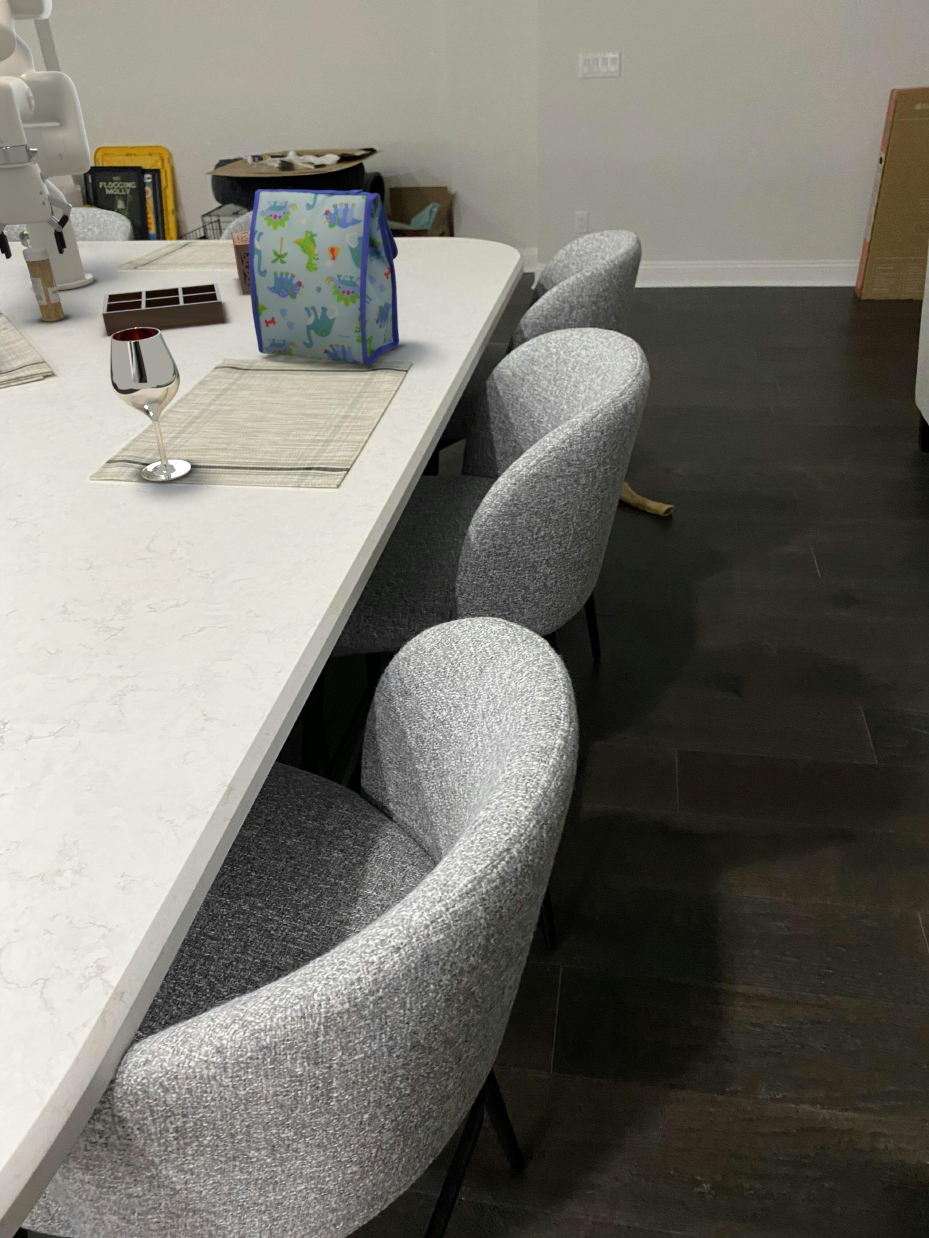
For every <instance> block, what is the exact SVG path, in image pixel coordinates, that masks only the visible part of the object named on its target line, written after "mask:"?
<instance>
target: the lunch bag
mask: <svg viewBox="0 0 929 1238" xmlns="http://www.w3.org/2000/svg"><path fill="white" fill-rule="evenodd" d="M252 207H253V208H252V214H251V221H250V228H249V230H250V239H249V274H250V287H251V294H250V301H251V309H252V319H253V325H254V332H255V335H256V341H257V349H258V352H259V353H261V354H264V355H266V354H267V355H272V356H274V355H275V356H284V357H291V358H300V359H311V360H319V361H330V362H331V361H332V362H338V363H339V362H340V363H348V364H355V365H356V364H357V365H358V364H359V365H360V364H361V365H366V366H370V365H372V364H373V363H374V362H375V361H377V359H378V358H379V357H381V356H382V355H383V354H384V353H386V352H388V351H390V350H393V349H395V348H397V347H398V346H399V345H400V334H399V320H398V319H399V317H398V316H399V314H398V313H399V312H398V294H397V293H398V291H397V290H398V288H397V278H396V269H395V264H394V263H395V262H394V260H395V259H396V258H397V257H398V255H399V250H398V245H397V243H396V239H395V238H394V234H393V233H392V230H391V227H390V225H389V221H388V218H387V215H386V212H385V208H384V205H383V202H382V199H381V195H380V194H379V193H377V192H374V193H371V192H367V191H363V189H351V190H335V189H322V190H321V189H319V190H317V189H313V190H312V189H285V188H284V189H282V188H279V189H278V188H277V189H272V188H271V189H268V188H266V189H260V188H258V189H257V190H255V192H254V201H253V206H252Z"/></svg>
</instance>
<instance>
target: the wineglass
mask: <svg viewBox="0 0 929 1238" xmlns="http://www.w3.org/2000/svg"><path fill="white" fill-rule="evenodd" d="M109 359H110V360H109V371H110V383H111V386H112V389H113V391H114V393H115V394H116V395H117V397H118V398H119V399H120V401H121V400H122V402H124V403H125V404H126V405H128V406H129V407H130V408H133V409H135V410H137V411H138V412H140V413H142V414H144V415H145V416H146V417H147V418H149V420H151V422H152V427H153V431H154V434H155V440H156V444H157V447H158V448H157V449H158V454H159V458H160V461H156V462H153V463H151V464H148V465H146V466H145V467H144V468H143V469H142V470H141V472H140V475H141V477H142V478H143V479H144V480H147V481H150V482H167V481H172V480H177V479H180V478H182V477H184V476H186V475H188V474H189V473H190V472H191V469H192V466H191V463H189V462H188V461H186V460H183V459H168V455H167V451H166V448H165V447H166V446H165V443H164V439H163V434H162V430H161V426H160V417H161V414H162V413H163V411H164V410H165V408H166V407H167V406H168V405H169V404H171V402H172V400H174V398H175V396H176V395H177V393H178V392H179V388H180V384H181V376H180V371H179V368H178V365H177V363H176V361H175V359H174V357H173V354H172V352H171V350H170V349H169V346H168V345H167V343H166V341H165V339H164V337H163V334H162V333H161V331H160V330H158V329H155V328H132V329H127V330H122V331H119V332H117V333H115V334H113V335H110V358H109Z"/></svg>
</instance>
